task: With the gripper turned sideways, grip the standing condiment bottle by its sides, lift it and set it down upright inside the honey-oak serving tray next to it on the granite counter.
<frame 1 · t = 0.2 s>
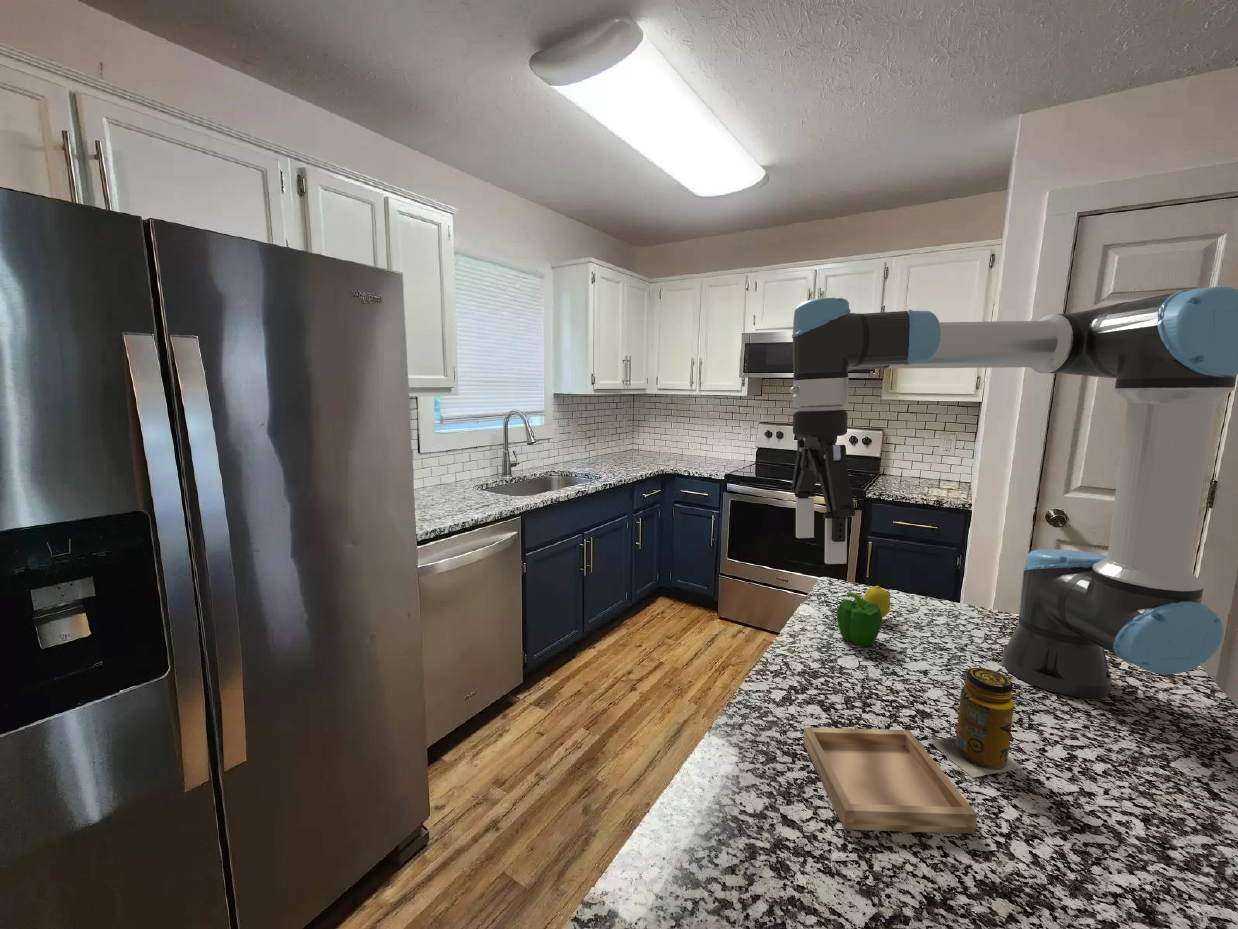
hand: (818, 549, 78), 27 cm above the countertop, tool pointing down, fingers open, 13 cm apart
lemon: (875, 620, 116), on the countertop
tray: (879, 783, 67), on the countertop
condiment: (974, 756, 73), on the countertop
bell pepper: (858, 641, 107), on the countertop
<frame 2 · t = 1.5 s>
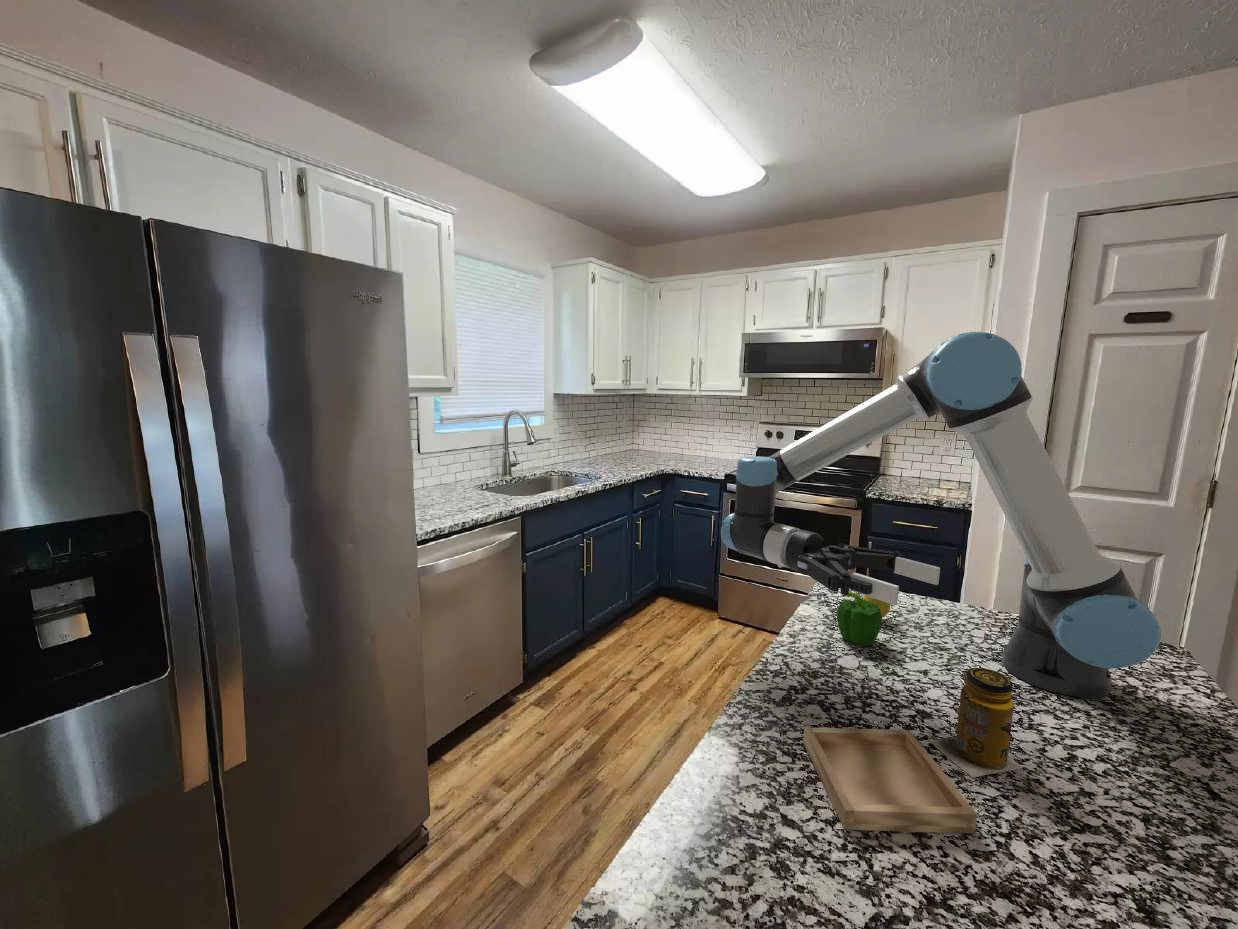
hand: (919, 585, 77), 22 cm above the countertop, tool horizontal, fingers open, 13 cm apart
nothing on the countertop moved.
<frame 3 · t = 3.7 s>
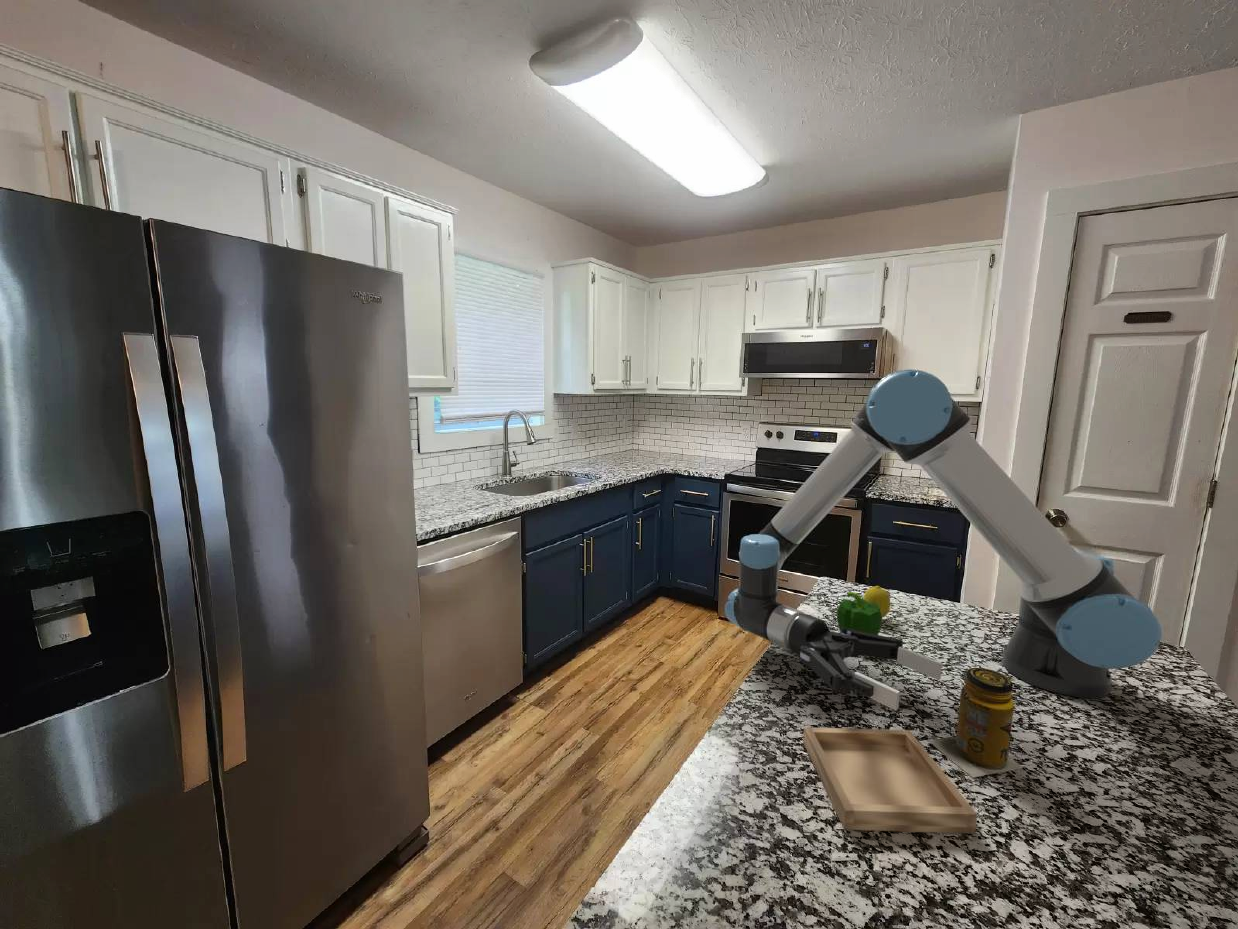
hand: (920, 685, 78), 7 cm above the countertop, tool horizontal, fingers open, 13 cm apart
nothing on the countertop moved.
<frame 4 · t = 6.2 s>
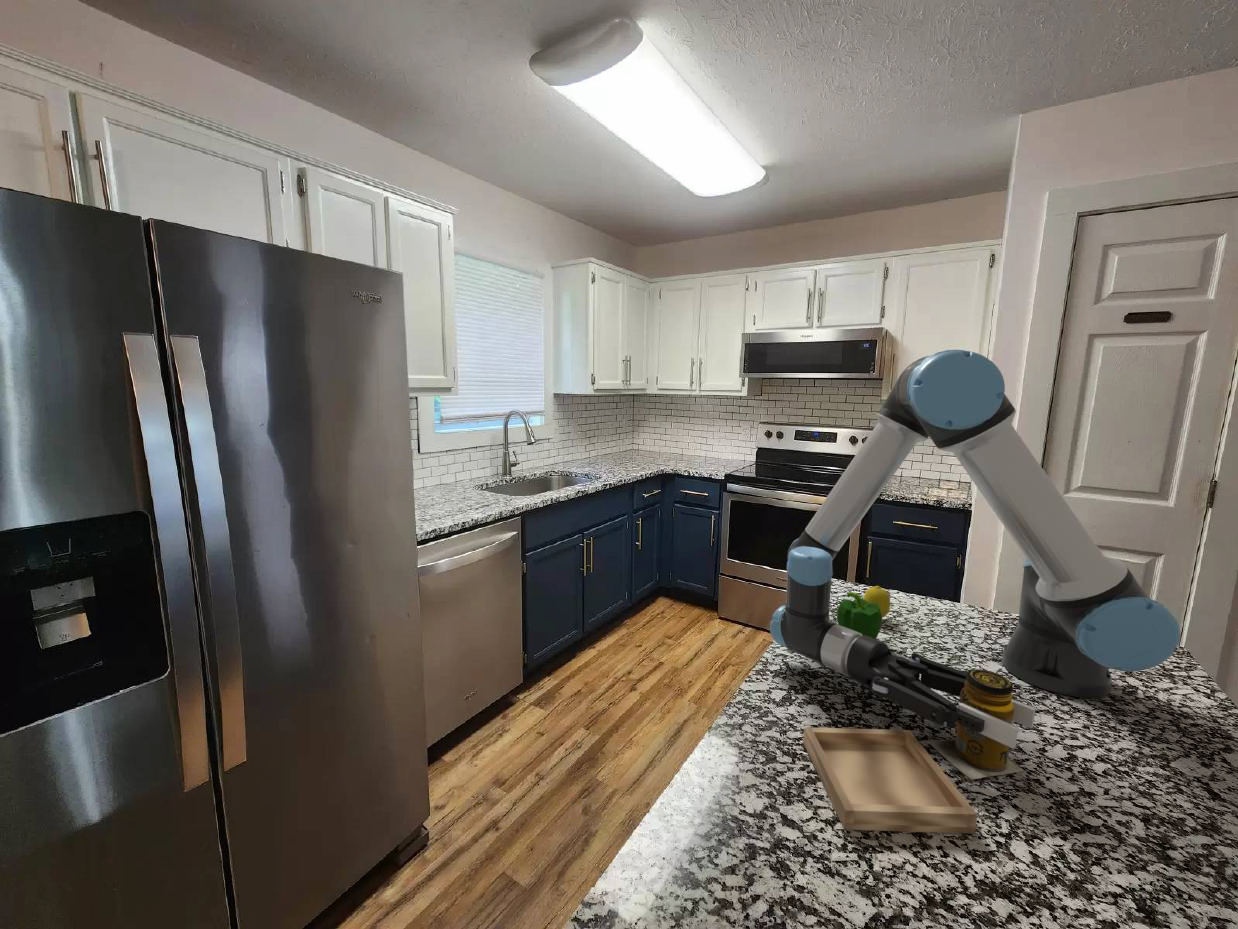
hand: (1024, 727, 68), 7 cm above the countertop, tool horizontal, fingers closed on condiment, 6 cm apart
condiment: (973, 758, 72), on the countertop, touching gripper
everything else where it was.
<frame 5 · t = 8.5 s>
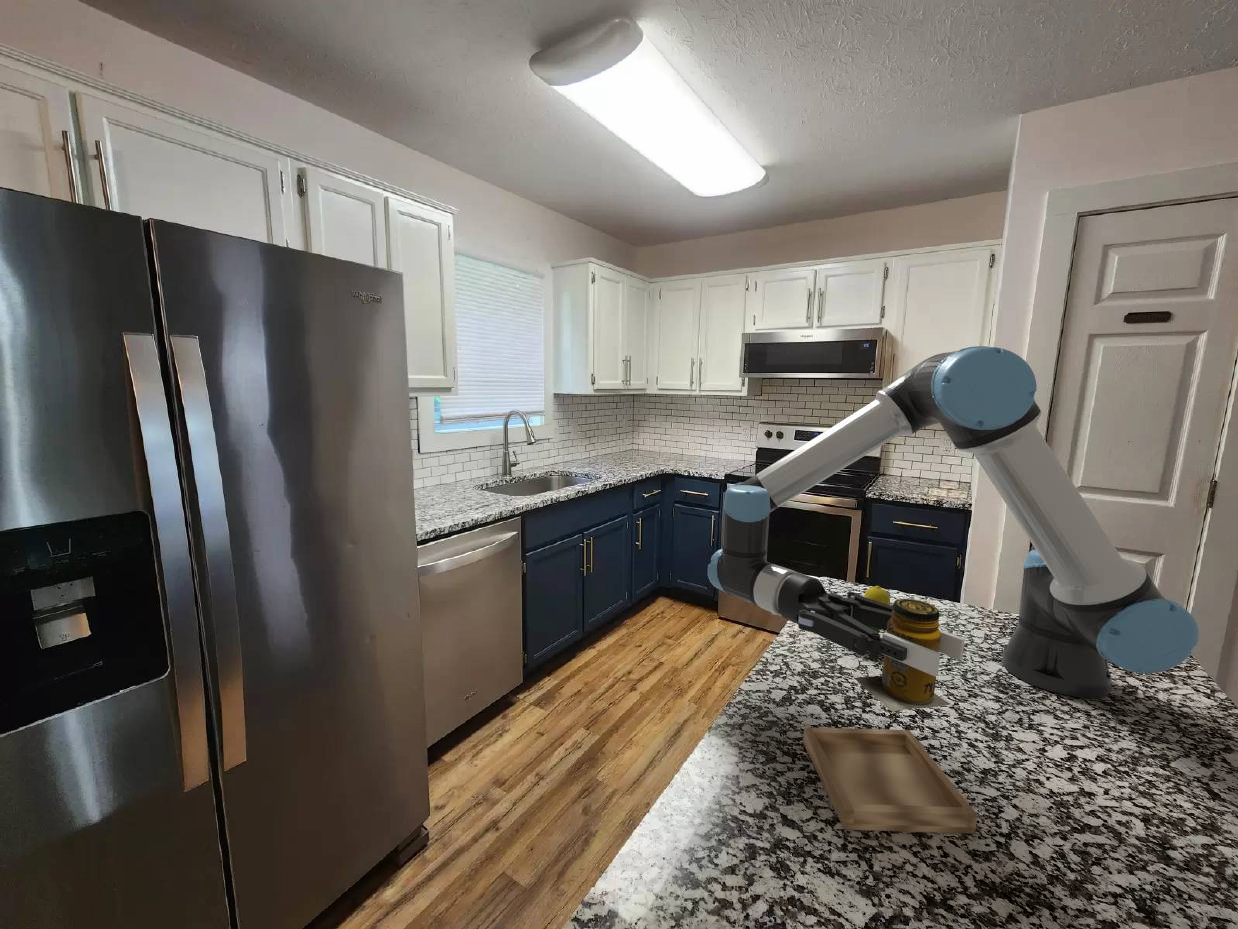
hand: (950, 656, 63), 19 cm above the countertop, tool horizontal, fingers closed on condiment, 6 cm apart
condiment: (900, 693, 68), point 12 cm above the countertop, touching gripper
everything else where it was.
when the fingers open (9 cm above the countertop, at t = 10.8 s): condiment drops 2 cm, resting on tray.
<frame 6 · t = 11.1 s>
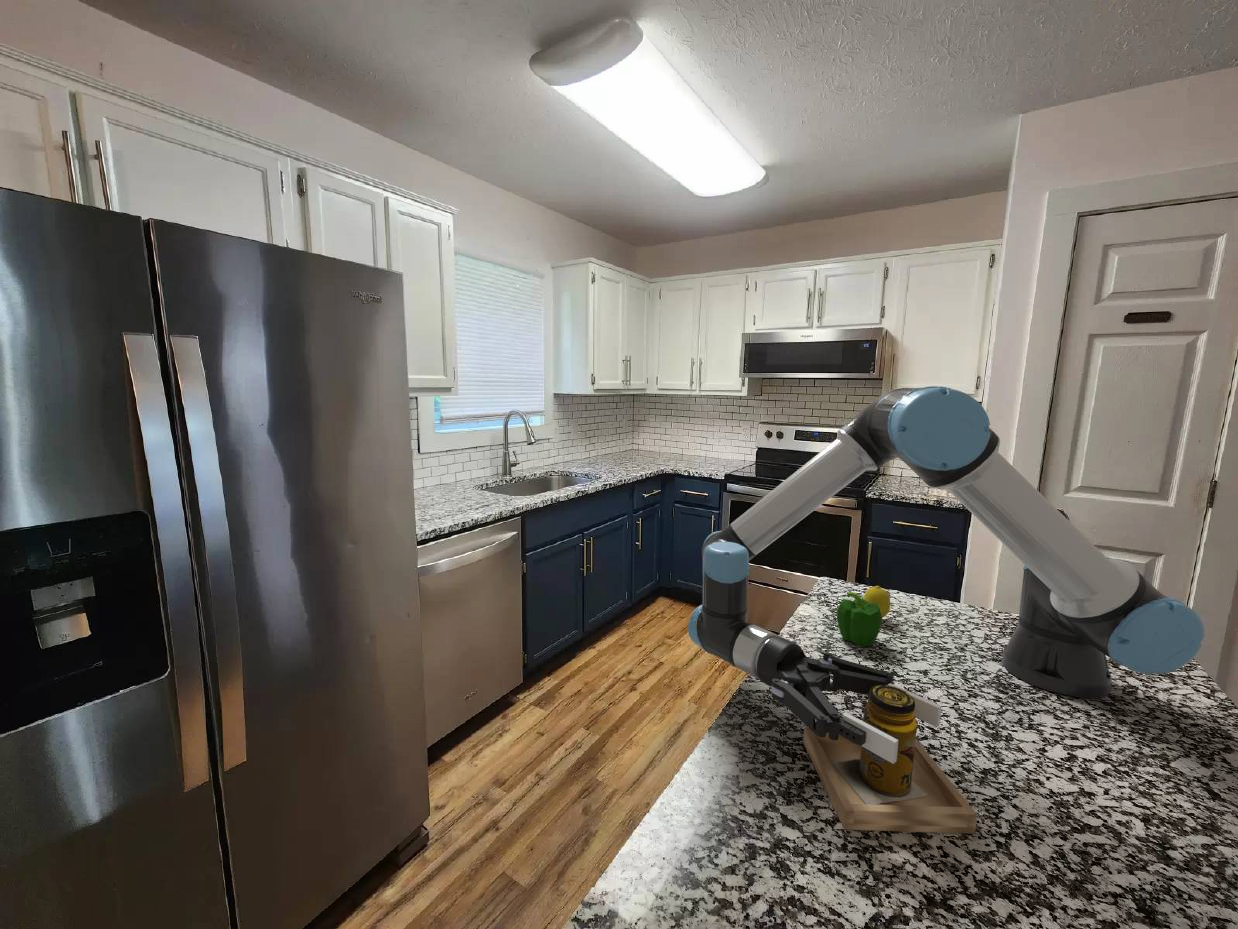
hand: (918, 733, 63), 9 cm above the countertop, tool horizontal, fingers open, 10 cm apart
condiment: (877, 781, 67), point 1 cm above the countertop, touching tray
everything else where it was.
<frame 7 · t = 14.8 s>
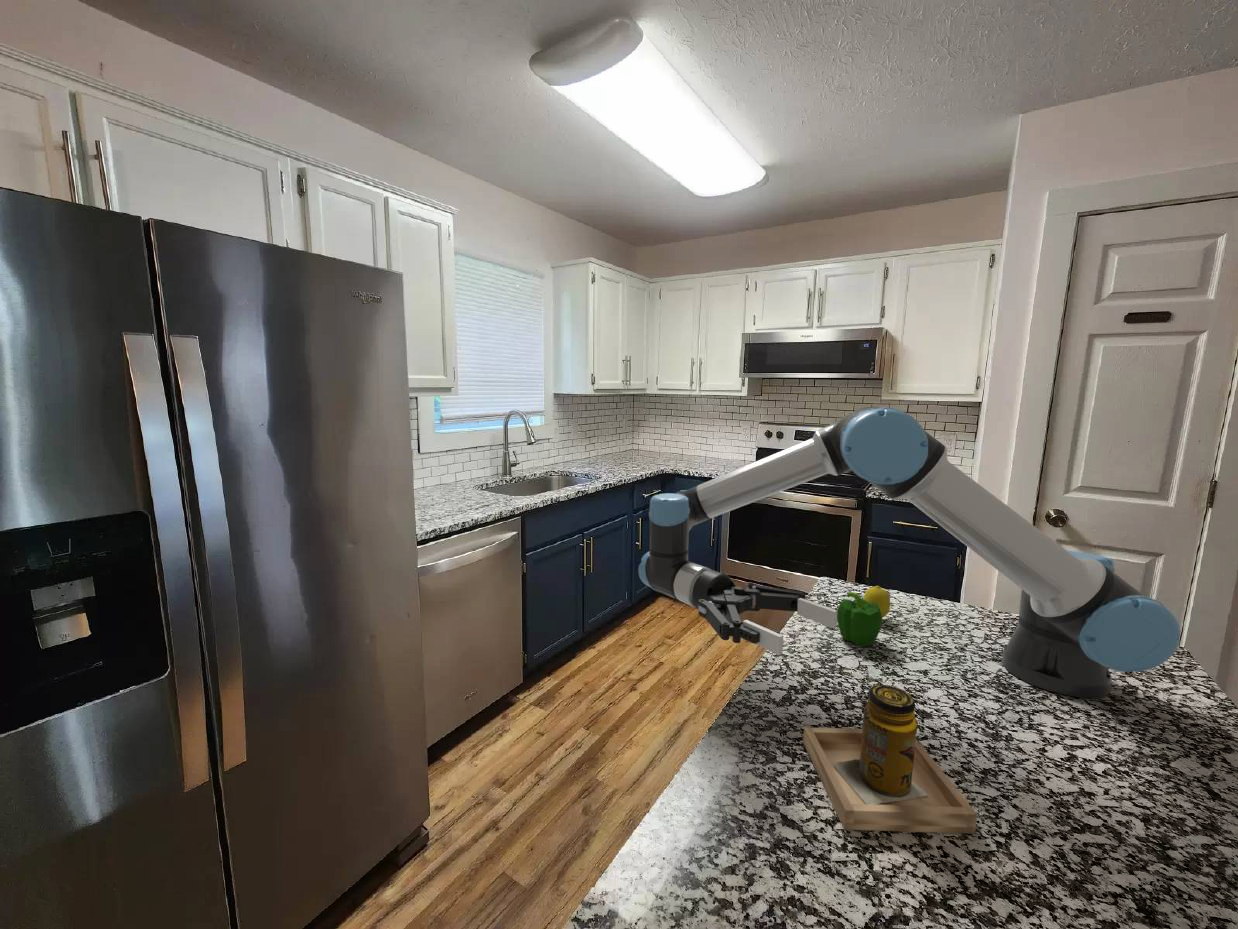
hand: (810, 632, 76), 16 cm above the countertop, tool horizontal, fingers open, 13 cm apart
nothing on the countertop moved.
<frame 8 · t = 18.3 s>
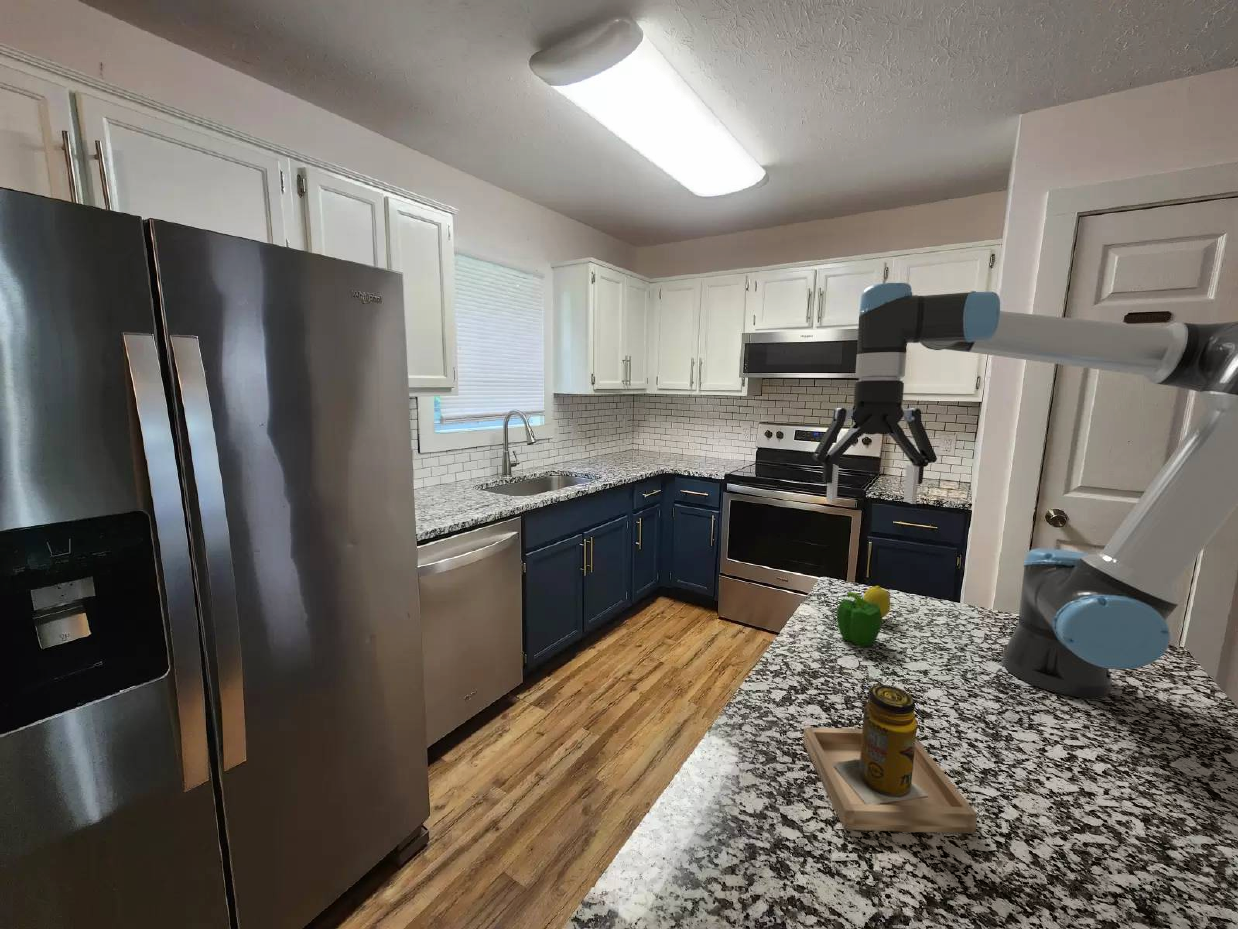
hand: (870, 502, 90), 32 cm above the countertop, tool pointing down, fingers open, 13 cm apart
nothing on the countertop moved.
at the end: condiment inside the target area on the tray (0.6 cm from its centre), point 0.6 cm above the tray's base; condiment tilted 0°; the gripper is holding nothing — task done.
